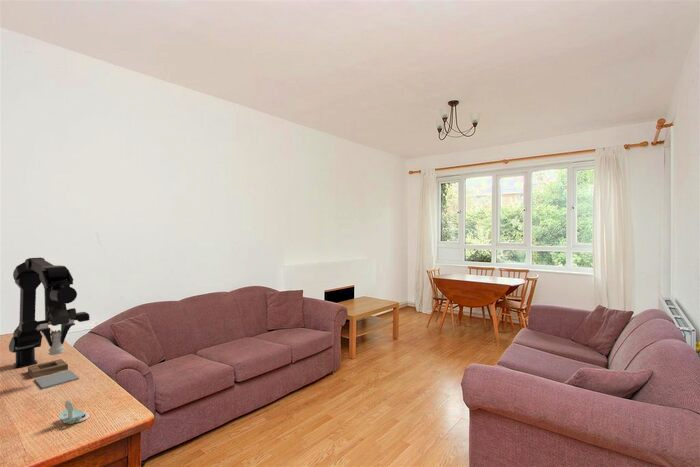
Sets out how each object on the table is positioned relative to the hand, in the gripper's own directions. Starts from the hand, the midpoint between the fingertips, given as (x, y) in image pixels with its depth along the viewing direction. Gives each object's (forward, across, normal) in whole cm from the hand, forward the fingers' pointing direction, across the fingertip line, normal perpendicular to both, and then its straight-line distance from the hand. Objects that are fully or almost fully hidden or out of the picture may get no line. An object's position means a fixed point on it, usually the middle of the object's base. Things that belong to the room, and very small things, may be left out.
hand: (56, 345), depth 124 cm
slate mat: (+12, 0, 0) cm, 12 cm away
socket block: (+12, 0, +14) cm, 18 cm away
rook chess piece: (+3, 0, 0) cm, 3 cm away
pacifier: (+13, -4, -40) cm, 42 cm away
